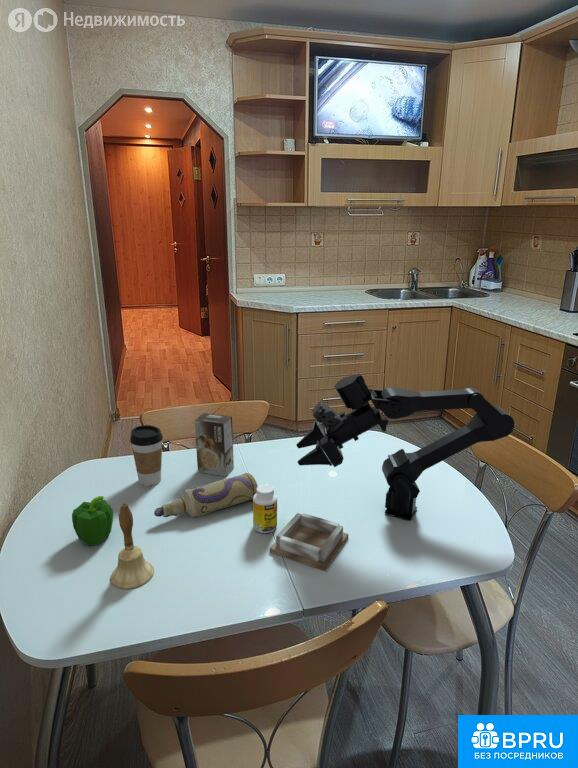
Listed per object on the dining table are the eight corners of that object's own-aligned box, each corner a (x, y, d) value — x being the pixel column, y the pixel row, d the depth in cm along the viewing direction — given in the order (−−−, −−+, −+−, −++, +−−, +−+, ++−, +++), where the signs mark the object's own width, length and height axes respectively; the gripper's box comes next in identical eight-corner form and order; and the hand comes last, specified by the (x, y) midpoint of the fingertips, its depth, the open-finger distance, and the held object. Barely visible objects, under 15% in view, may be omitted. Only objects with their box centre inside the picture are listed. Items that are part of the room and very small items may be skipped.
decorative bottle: (246, 490, 132) (246, 467, 130) (259, 503, 126) (259, 480, 124) (150, 516, 120) (148, 491, 118) (159, 532, 114) (157, 507, 111)
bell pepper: (72, 552, 106) (67, 512, 103) (77, 531, 113) (72, 492, 110) (114, 546, 108) (109, 506, 105) (116, 525, 116) (112, 487, 113)
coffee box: (235, 467, 144) (233, 415, 140) (226, 477, 139) (224, 424, 134) (206, 462, 147) (204, 412, 142) (196, 472, 141) (193, 420, 136)
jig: (348, 537, 112) (348, 524, 111) (325, 570, 101) (325, 556, 100) (296, 522, 118) (297, 509, 117) (269, 551, 107) (269, 538, 106)
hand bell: (108, 592, 95) (99, 519, 90) (112, 564, 102) (104, 496, 98) (153, 585, 96) (147, 513, 92) (154, 559, 104) (148, 491, 99)
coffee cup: (153, 470, 142) (149, 421, 137) (172, 479, 137) (168, 429, 132) (127, 481, 136) (122, 430, 131) (146, 491, 131) (141, 439, 126)
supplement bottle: (264, 537, 112) (263, 497, 109) (248, 527, 116) (247, 488, 113) (282, 527, 116) (282, 488, 112) (266, 518, 119) (266, 479, 116)
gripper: (334, 382, 122) (280, 413, 125) (343, 409, 104) (279, 444, 107) (356, 419, 125) (302, 448, 127) (368, 450, 107) (305, 484, 110)
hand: (297, 454), depth 118 cm, fingers open, 9 cm apart
